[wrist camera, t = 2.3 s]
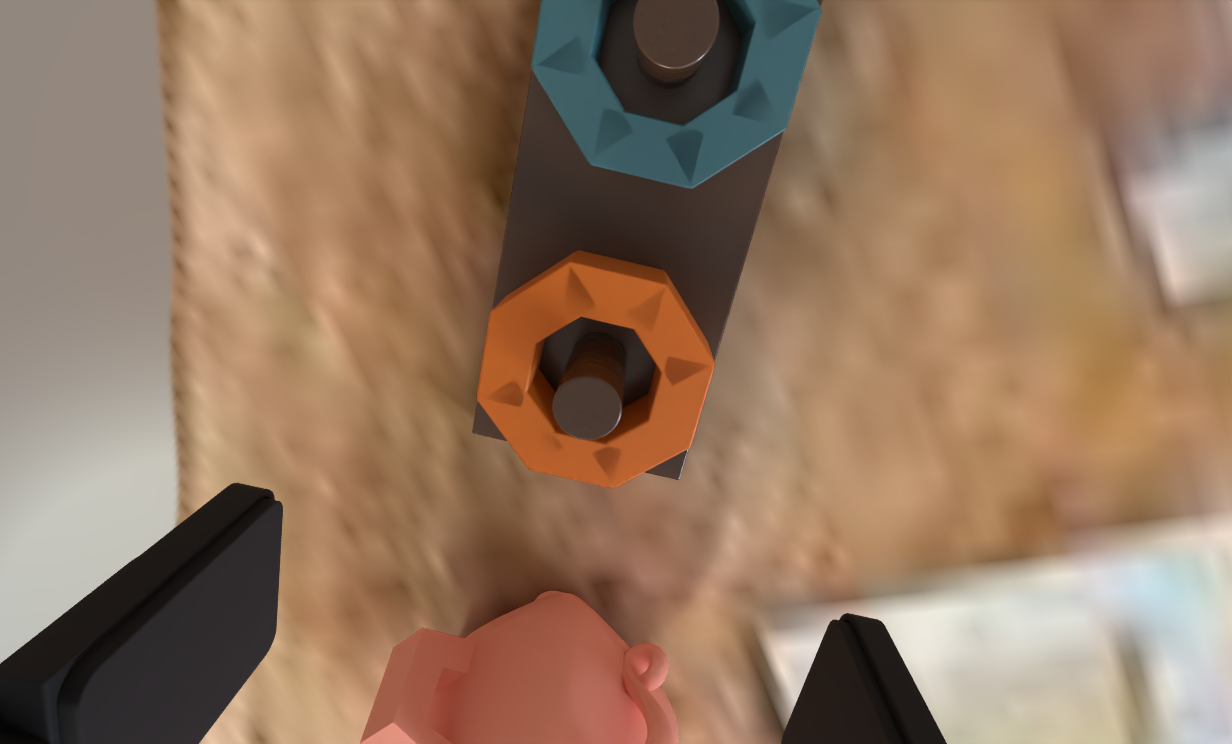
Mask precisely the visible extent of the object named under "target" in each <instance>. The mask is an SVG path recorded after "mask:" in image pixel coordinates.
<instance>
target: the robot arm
mask: <svg viewBox="0 0 1232 744" xmlns="http://www.w3.org/2000/svg"><path fill="white" fill-rule="evenodd" d="M282 517H283V505H282V503H281V502H280V501H276V500H275V498H274V494H273V492H272V491H271V490H268V489H263V488H259V487H254V486H249V485H245V484H240V483H233V484H231V485H229V486H228V487H226V488H225V489H224V490H223V491H221V492H220V493H219V494H217V495H216V496H215V497H214V498H212V499H211V500H210V501H209V502H207V503H206V504H205V505H203V506H202V507H201V508H200V509H198V510H197V511H196V512H195V513H193V514H192V515H191V516H190V517H188V518H187V519H186V520H184V521H183V522H182V523H181V524H179V525H178V526H177V527H176V528H174V529H173V530H172V531H170V532H169V533H168V534H167V535H165V536H164V537H163V538H162V539H160V540H159V541H158V542H157V543H155V544H154V545H153V546H151V547H150V548H149V549H148V550H147V551H145V552H144V553H143V554H141V555H140V556H139V557H137V558H135V559H134V560H132V561H131V562H129V563H128V564H127V565H125V566H124V567H123V568H122V569H120V570H119V571H118V572H117V573H115V574H114V575H113V576H111V577H110V578H109V579H108V580H106V581H105V582H104V583H103V584H101V585H100V586H99V587H97V588H96V589H95V590H94V591H92V592H91V593H90V594H88V595H87V596H86V597H85V598H83V599H82V600H81V601H80V602H78V603H77V604H76V605H74V606H73V607H72V608H71V609H69V610H68V611H67V612H66V613H64V614H63V615H62V616H61V617H59V618H58V619H57V620H55V621H54V622H53V623H52V624H50V625H49V626H48V627H47V628H45V629H44V630H43V631H41V632H40V633H39V634H38V635H36V636H35V637H34V638H32V639H31V640H30V641H29V642H27V643H26V644H25V645H24V646H22V647H21V648H20V649H18V650H17V651H16V652H15V653H13V654H12V655H11V656H10V657H8V658H7V659H6V660H4V661H3V662H2V663H1V664H0V744H199V743H200V741H201V740H202V739H203V737H204V736H205V735H206V733H207V732H208V731H209V729H210V728H211V727H212V725H213V724H214V723H215V722H216V720H217V719H218V718H219V716H220V715H221V714H222V712H223V711H224V710H225V708H226V707H227V706H228V704H229V703H230V702H231V700H232V699H233V698H234V696H235V695H236V694H237V693H238V691H239V690H240V689H241V687H242V686H243V685H244V683H245V682H246V681H247V679H248V678H249V677H250V675H251V674H252V673H253V671H254V670H255V669H256V667H257V666H258V665H259V664H260V662H261V661H262V660H263V658H264V657H265V656H266V654H267V653H268V651H269V649H270V647H271V645H272V643H273V640H274V637H275V634H276V626H277V608H278V590H279V572H280V554H281V536H282ZM781 744H947V743H946V741H945V739H944V737H943V735H942V734H941V732H940V730H939V728H938V726H937V724H936V722H935V720H934V718H933V716H932V715H931V713H930V711H929V709H928V707H927V705H926V703H925V701H924V699H923V697H922V696H921V694H920V692H919V690H918V688H917V686H916V684H915V682H914V680H913V678H912V676H911V675H910V673H909V671H908V669H907V667H906V665H905V663H904V661H903V659H902V657H901V656H900V654H899V652H898V650H897V648H896V646H895V644H894V642H893V640H892V638H891V637H890V635H889V633H888V631H887V629H886V627H885V625H884V624H883V623H882V622H881V621H879V620H877V619H872V618H868V617H863V616H858V615H854V614H849V613H847V614H844V615H843V616H841V618H840V620H832V621H831V622H830V623H829V625H828V627H827V630H826V632H825V635H824V637H823V639H822V642H821V644H820V647H819V649H818V652H817V654H816V656H815V659H814V661H813V664H812V666H811V668H810V671H809V673H808V676H807V678H806V680H805V683H804V685H803V688H802V690H801V692H800V695H799V697H798V700H797V702H796V705H795V707H794V709H793V712H792V714H791V717H790V719H789V721H788V724H787V726H786V729H785V731H784V734H783V737H782V742H781Z"/></svg>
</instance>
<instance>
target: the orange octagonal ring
mask: <svg viewBox="0 0 1232 744" xmlns="http://www.w3.org/2000/svg"><path fill="white" fill-rule="evenodd" d="M579 317H584V318H589V319H593V320H597V321H601V322H606V323H610V324H614V325H619V326H623V327H627V328H631V329H634V331H635V332H636V334H637V335H638V337H639V339H640V340H641V342H642V343H643V345H644V346H645V348H646V350H647V351H648V353H649V354H650V356H651V357H652V359H653V361H654V362H655V364H656V366H655V370H654V373H653V377H652V381H651V385H650V388H649V392H648V394H647V395H645V396H643V397H642V398H640V399H638V400H636V401H635V402H633V403H631V404H629V405H627V406H626V407H624V408H622V414H621V418H620V421H619V423H618V425H617V426H616V427H615V429H614V430H613V431H612V432H610V433H609V434H608V435H606V436H604V437H602V438H599V439H595V440H582V439H577V438H575V437H572V436H570V435H569V434H567V433H566V432H564V431H563V430H562V429H561V428H560V426H559V425H558V424H557V422H556V420H555V418H554V415H553V410H552V404H553V398H554V395H555V393H556V392H555V391H554V390H553V388H552V387H551V385H550V384H549V382H548V381H547V380H546V378H545V377H544V375H543V374H542V372H541V371H540V370H539V366H540V361H541V356H542V351H543V346H544V341H545V338H547V337H548V336H550V335H551V334H553V333H555V332H556V331H558V330H560V329H561V328H563V327H565V326H566V325H568V324H570V323H571V322H573V321H574V320H576V319H578V318H579ZM714 368H715V364H714V359H713V356H712V353H711V350H710V347H709V344H708V341H707V340H706V338H705V336H704V335H703V333H702V331H701V330H700V328H699V326H698V325H697V323H696V321H695V320H694V318H693V316H692V315H691V313H690V311H689V310H688V308H687V306H686V305H685V303H684V301H683V300H682V298H681V296H680V295H679V293H678V291H677V290H676V288H675V286H674V285H673V283H672V281H671V280H670V278H669V276H668V275H667V273H666V272H665V271H664V270H661V269H657V268H653V267H648V266H644V265H640V264H636V263H631V262H627V261H623V260H619V259H615V258H610V257H606V256H602V255H598V254H593V253H589V252H585V251H581V250H578V251H576V252H574V253H572V254H571V255H569V256H568V257H566V258H565V259H563V260H561V261H560V262H558V263H557V264H555V265H554V266H552V267H550V268H549V269H547V270H546V271H544V272H543V273H541V274H539V275H538V276H536V277H535V278H533V279H532V280H530V281H528V282H527V283H525V284H524V285H522V286H521V287H519V288H517V289H516V290H514V291H513V292H511V293H510V294H508V295H507V296H506V297H505V298H504V299H503V300H502V301H501V302H500V303H499V304H498V305H497V306H496V307H495V308H494V309H493V310H492V311H491V313H490V316H489V322H488V328H487V334H486V341H485V347H484V353H483V359H482V365H481V371H480V377H479V383H478V390H477V400H478V402H479V403H480V405H481V406H482V407H483V409H484V410H485V411H486V413H487V414H488V415H489V417H490V418H491V419H492V421H493V422H494V424H495V425H496V426H497V428H498V429H499V430H500V432H501V433H502V434H503V436H504V437H505V438H506V440H507V441H508V442H509V444H510V445H511V447H512V448H513V449H514V451H515V452H516V453H517V455H518V456H519V457H520V459H521V460H522V461H523V463H524V464H525V465H526V467H527V468H528V469H529V470H534V471H538V472H542V473H547V474H551V475H556V476H560V477H565V478H569V479H573V480H578V481H582V482H587V483H591V484H596V485H600V486H604V487H609V488H615V487H617V486H619V485H621V484H623V483H625V482H627V481H629V480H631V479H632V478H634V477H636V476H638V475H640V474H642V473H644V472H646V471H647V470H649V469H651V468H653V467H655V466H657V465H659V464H661V463H663V462H664V461H666V460H668V459H670V458H672V457H674V456H676V455H678V454H679V453H681V452H683V451H685V450H687V449H689V447H691V445H692V441H693V438H694V435H695V431H696V428H697V425H698V421H699V418H700V415H701V411H702V408H703V405H704V401H705V398H706V395H707V391H708V388H709V385H710V381H711V378H712V375H713V371H714Z"/></svg>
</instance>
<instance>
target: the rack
mask: <svg viewBox="0 0 1232 744" xmlns="http://www.w3.org/2000/svg"><path fill="white" fill-rule="evenodd" d="M817 1H818V3H819V5H820V7H821V4H822V0H817ZM741 40H742V36H741V34H740V32H739V30H738V28H737V26H736V24H735V22H734V20H733V18H732V16H731V14H730V12H729V10H728V8H727V6H726V4H725V2H724V0H617V1H616V2H614V3H613V4H611V6H610V11H609V16H608V21H607V26H606V31H605V36H604V41H603V46H602V52H601V57H600V62H599V66H600V68H601V70H602V72H603V73H604V75H605V77H606V79H607V80H608V82H609V84H610V86H611V87H612V89H613V91H614V92H615V94H616V96H617V98H618V99H619V101H620V103H621V105H622V106H623V108H624V110H625V111H628V112H632V113H636V114H640V115H644V116H648V117H653V118H657V119H661V120H665V121H669V122H673V123H677V124H681V125H684V124H686V123H687V122H689V121H690V120H692V119H693V118H695V117H696V116H698V115H699V114H701V113H702V112H704V111H705V110H707V109H708V108H710V107H711V106H713V105H714V104H716V103H717V102H719V101H721V100H722V99H724V98H725V97H727V93H728V90H729V86H730V82H731V78H732V74H733V71H734V67H735V63H736V59H737V55H738V52H739V48H740V44H741ZM782 134H783V132H781V133H780V134H778V135H776V136H775V137H773V138H772V139H770V140H769V141H767V142H765V143H764V144H762V145H761V146H759V147H758V148H756V149H754V150H753V151H751V152H750V153H748V154H746V155H745V156H743V157H742V158H740V159H739V160H737V161H735V162H734V163H732V164H731V165H729V166H728V167H726V168H724V169H723V170H721V171H720V172H718V173H716V174H715V175H713V176H712V177H710V178H709V179H707V180H705V181H704V182H702V183H701V184H699V185H697V186H696V187H694V188H692V189H688V188H684V187H680V186H676V185H672V184H667V183H663V182H659V181H655V180H651V179H647V178H643V177H638V176H634V175H630V174H626V173H622V172H618V171H614V170H609V169H605V168H601V167H597V166H593V165H591V164H590V163H589V162H588V161H587V160H586V158H585V156H584V155H583V153H582V151H581V150H580V148H579V146H578V145H577V143H576V141H575V140H574V138H573V136H572V135H571V133H570V132H569V130H568V128H567V127H566V125H565V123H564V122H563V120H562V118H561V117H560V115H559V113H558V112H557V110H556V108H555V107H554V105H553V104H552V102H551V100H550V99H549V97H548V95H547V94H546V92H545V90H544V89H543V87H542V85H541V84H540V82H539V81H538V79H537V77H536V76H535V74H534V72H533V71H532V72H531V78H530V84H529V90H528V96H527V103H526V109H525V115H524V121H523V127H522V133H521V139H520V145H519V151H518V157H517V163H516V169H515V176H514V182H513V188H512V194H511V200H510V206H509V212H508V218H507V224H506V230H505V236H504V242H503V248H502V255H501V261H500V267H499V273H498V279H497V285H496V291H495V297H494V303H493V309H494V308H495V307H496V306H497V305H498V304H499V303H500V302H501V301H502V300H503V299H504V298H505V297H506V296H507V295H508V294H510V293H511V292H513V291H514V290H516V289H517V288H519V287H521V286H522V285H524V284H525V283H527V282H528V281H530V280H532V279H533V278H535V277H536V276H538V275H539V274H541V273H543V272H544V271H546V270H547V269H549V268H550V267H552V266H554V265H555V264H557V263H558V262H560V261H561V260H563V259H565V258H566V257H568V256H569V255H571V254H572V253H574V252H576V251H578V250H581V251H585V252H589V253H593V254H598V255H602V256H606V257H610V258H615V259H619V260H623V261H627V262H631V263H636V264H640V265H644V266H648V267H653V268H657V269H661V270H664V271H665V272H666V273H667V275H668V276H669V278H670V280H671V281H672V283H673V285H674V286H675V288H676V290H677V291H678V293H679V295H680V296H681V298H682V300H683V301H684V303H685V305H686V306H687V308H688V310H689V311H690V313H691V315H692V316H693V318H694V320H695V321H696V323H697V325H698V326H699V328H700V330H701V331H702V333H703V335H704V336H705V338H706V340H707V341H708V344H709V347H710V350H711V353H712V356H713V359H714V362H715V359H716V356H717V352H718V349H719V346H720V342H721V339H722V336H723V332H724V329H725V326H726V322H727V319H728V315H729V312H730V309H731V305H732V302H733V299H734V295H735V292H736V289H737V285H738V282H739V279H740V275H741V272H742V269H743V265H744V262H745V258H746V255H747V252H748V248H749V245H750V242H751V238H752V235H753V232H754V228H755V225H756V222H757V218H758V215H759V212H760V208H761V205H762V201H763V198H764V195H765V191H766V188H767V185H768V181H769V178H770V175H771V171H772V168H773V165H774V161H775V158H776V155H777V151H778V148H779V144H780V141H781V138H782ZM493 309H492V310H493ZM655 366H656V364H655V362H654V361H653V359H652V357H651V356H650V354H649V353H648V351H647V350H646V348H645V346H644V345H643V343H642V342H641V340H640V339H639V337H638V335H637V334H636V332H635V331H634V329H631V328H627V327H623V326H619V325H614V324H610V323H606V322H601V321H597V320H593V319H589V318H584V317H579V318H578V319H576V320H574V321H573V322H571V323H570V324H568V325H566V326H565V327H563V328H561V329H560V330H558V331H556V332H555V333H553V334H551V335H550V336H548V337H547V338H545V341H544V346H543V351H542V356H541V361H540V366H539V370H540V371H541V372H542V374H543V375H544V377H545V378H546V380H547V381H548V382H549V384H550V385H551V387H552V388H553V390H554V391H555V392H556V393H555V395H554V398H553V404H552V410H553V415H554V418H555V420H556V422H557V424H558V425H559V426H560V428H561V429H562V430H563V431H564V432H566V433H567V434H569V435H570V436H572V437H575V438H577V439H582V440H595V439H599V438H602V437H604V436H606V435H608V434H609V433H610V432H612V431H613V430H614V429H615V427H616V426H617V425H618V423H619V421H620V418H621V414H622V408H624V407H626V406H627V405H629V404H631V403H633V402H635V401H636V400H638V399H640V398H642V397H643V396H645V395H647V394H648V392H649V388H650V385H651V381H652V377H653V373H654V370H655ZM472 432H473V433H474V434H478V435H482V436H487V437H491V438H496V439H500V440H505V441H507V440H506V438H505V437H504V436H503V434H502V433H501V432H500V430H499V429H498V428H497V426H496V425H495V424H494V422H493V421H492V419H491V418H490V417H489V415H488V414H487V413H486V411H485V410H484V409H483V407H482V406H481V405H480V403H479V402H478V400H477V407H476V413H475V419H474V425H473V431H472ZM688 450H689V449H687V450H685V451H683V452H681V453H679V454H678V455H676V456H674V457H672V458H670V459H668V460H666V461H664V462H663V463H661V464H659V465H657V466H655V467H653V468H651V469H649V470H647V471H646V473H650V474H654V475H659V476H663V477H668V478H672V479H676V480H679V479H680V476H681V473H682V470H683V466H684V463H685V460H686V456H687V453H688Z"/></svg>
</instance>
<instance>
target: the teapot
mask: <svg viewBox="0 0 1232 744" xmlns="http://www.w3.org/2000/svg"><path fill="white" fill-rule="evenodd" d="M668 671H669V666H668V660H667V657H666V655H665V653H664V652H663V651H662V649H661V648H660V647H658V646H656V645H654V644H652V643H642V644H638V645H635V646H633V647H631V648H630V647H629V646H628V645H627V644H626V643H625V642H624V641H623V640H622V639H621V638H620V636H619V635H618V634H617V633H616V632H615V631H614V630H613V629H612V628H611V627H610V626H609V625H608V624H607V623H606V622H605V621H604V620H603V619H602V618H601V617H600V616H599V615H598V614H597V613H596V612H595V611H594V610H593V609H592V608H591V607H590V606H589V605H587V604H586V603H585V602H584V601H583V600H582V599H580V598H579V597H577V596H576V595H574V594H570V593H563V592H560V591H547V592H544V593H542V594H540V595H539V596H538V597H537V598H536V599H535V601H533V602H531V603H529V604H527V605H524V606H522V607H520V608H517V609H515V610H513V611H511V612H509V613H507V614H504V615H502V616H500V617H498V618H496V619H494V620H492V621H490V622H489V623H487V624H485V625H483V626H482V627H480V628H478V629H477V630H475V631H474V632H472V633H471V634H469V635H468V636H467V637H465V638H462V637H458V636H454V635H450V634H445V633H441V632H437V631H433V630H429V629H425V628H422V629H420V630H419V631H417V632H416V633H414V634H413V635H411V636H410V637H408V638H407V639H406V640H404V641H403V642H401V643H400V644H398V645H397V646H395V647H394V648H393V651H392V654H391V657H390V659H389V662H388V665H387V668H386V671H385V674H384V676H383V679H382V682H381V685H380V688H379V691H378V694H377V696H376V699H375V702H374V705H373V708H372V711H371V713H370V716H369V719H368V722H367V725H366V728H365V730H364V733H363V736H362V739H361V742H360V744H678V724H677V720H676V716H675V714H674V711H673V709H672V707H671V705H670V703H669V700H668V698H667V696H666V694H665V692H664V690H663V689H662V687H661V685H662V684H663V682H664V681H665V679H666V678H667V675H668Z"/></svg>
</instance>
